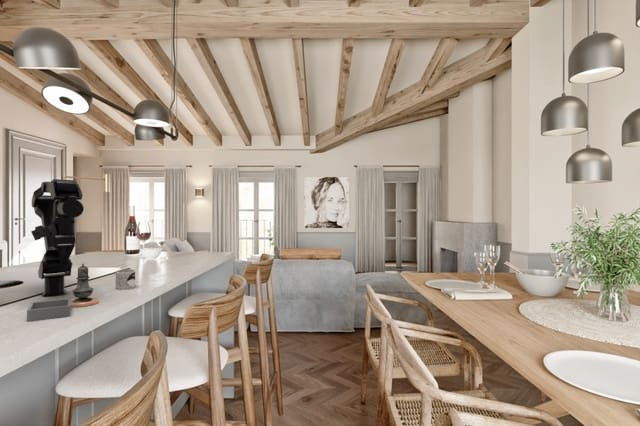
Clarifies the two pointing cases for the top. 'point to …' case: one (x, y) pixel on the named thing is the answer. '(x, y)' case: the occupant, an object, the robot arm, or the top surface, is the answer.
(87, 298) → the grey tall domed piece
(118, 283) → the grey speckled block
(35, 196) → the robot arm
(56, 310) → the tub
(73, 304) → the coaster
